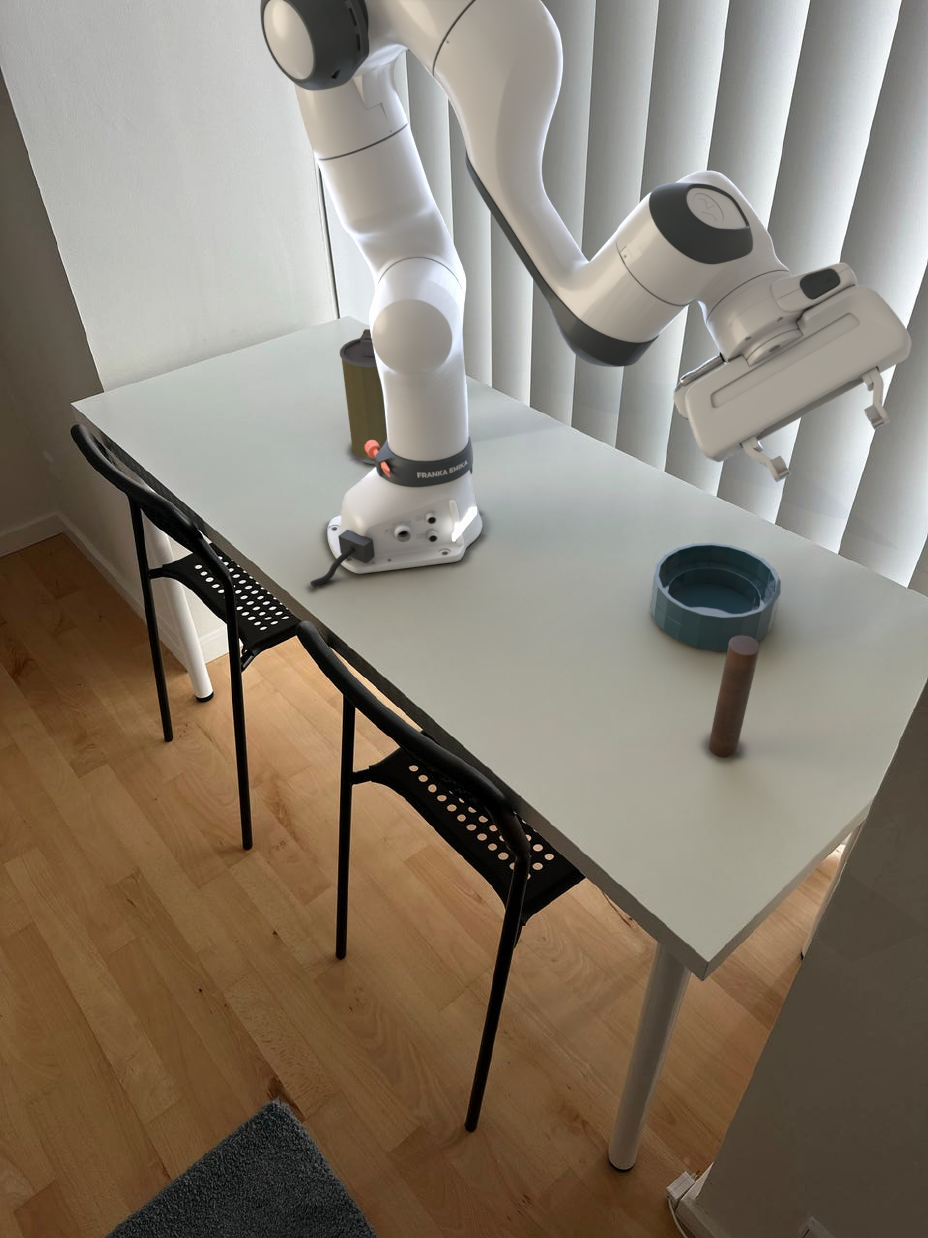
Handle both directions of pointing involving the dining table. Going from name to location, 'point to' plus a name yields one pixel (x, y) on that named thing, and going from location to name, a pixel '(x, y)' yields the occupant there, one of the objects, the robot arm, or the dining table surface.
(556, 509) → the dining table surface
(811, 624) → the dining table surface
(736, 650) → the stick
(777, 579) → the bowl
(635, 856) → the dining table surface
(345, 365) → the canister
